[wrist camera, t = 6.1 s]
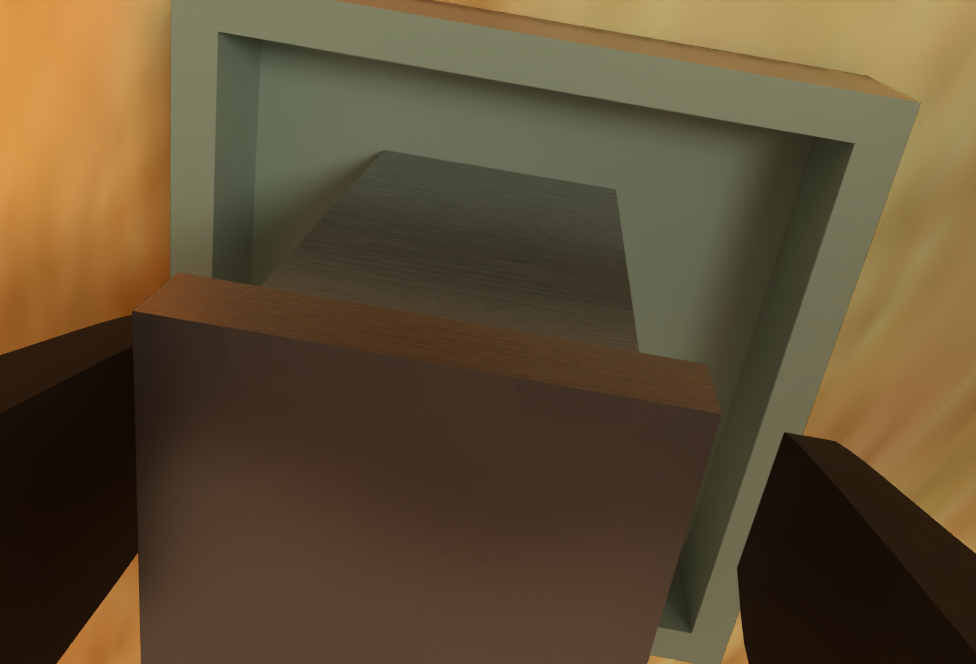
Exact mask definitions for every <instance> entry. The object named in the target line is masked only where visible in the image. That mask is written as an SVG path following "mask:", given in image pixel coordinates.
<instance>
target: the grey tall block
mask: <svg viewBox="0 0 976 664" xmlns="http://www.w3.org/2000/svg"><path fill="white" fill-rule="evenodd" d="M132 321H133V361H134V401H135V441H136V481H137V520H138V560H139V600H140V640H141V664H647V662H648V659H649V656H650V652H651V649H652V646H653V642H654V639H655V636H656V632H657V629H658V626H659V622H660V619H661V616H662V612H663V609H664V606H665V602H666V599H667V595H668V592H669V589H670V585H671V582H672V579H673V575H674V572H675V569H676V565H677V562H678V559H679V555H680V552H681V549H682V545H683V542H684V539H685V535H686V532H687V529H688V525H689V522H690V518H691V515H692V512H693V508H694V505H695V502H696V498H697V495H698V492H699V488H700V485H701V482H702V478H703V475H704V472H705V468H706V465H707V462H708V458H709V455H710V452H711V448H712V445H713V441H714V438H715V435H716V431H717V428H718V425H719V421H720V418H721V415H722V413H721V410H720V406H719V403H718V400H717V396H716V393H715V389H714V386H713V383H712V379H711V376H710V373H709V369H708V366H707V364H703V363H697V362H691V361H686V360H680V359H674V358H668V357H663V356H657V355H651V354H645V353H640V352H639V347H638V340H637V333H636V326H635V319H634V312H633V305H632V298H631V291H630V284H629V277H628V270H627V263H626V256H625V249H624V242H623V235H622V228H621V221H620V214H619V207H618V200H617V193H616V189H611V188H606V187H600V186H594V185H588V184H582V183H576V182H570V181H564V180H558V179H552V178H547V177H541V176H535V175H529V174H523V173H517V172H511V171H505V170H499V169H493V168H487V167H482V166H476V165H470V164H464V163H458V162H452V161H446V160H440V159H434V158H428V157H423V156H417V155H411V154H405V153H399V152H393V151H387V150H383V151H382V152H381V153H380V155H379V156H378V157H377V158H376V159H375V160H374V161H373V162H372V163H371V165H370V166H369V167H368V168H367V169H366V170H365V171H364V172H363V173H362V175H361V176H360V177H359V178H358V179H357V180H356V181H355V182H354V183H353V184H352V186H351V187H350V188H349V189H348V190H347V191H346V192H345V193H344V194H343V196H342V197H341V198H340V199H339V200H338V201H337V202H336V203H335V204H334V206H333V207H332V208H331V209H330V210H329V211H328V212H327V213H326V214H325V216H324V217H323V218H322V219H321V220H320V221H319V222H318V223H317V224H316V225H315V227H314V228H313V229H312V230H311V231H310V232H309V233H308V234H307V235H306V237H305V238H304V239H303V240H302V241H301V242H300V243H299V244H298V245H297V247H296V248H295V249H294V250H293V251H292V252H291V253H290V254H289V255H288V256H287V258H286V259H285V260H284V261H283V262H282V263H281V264H280V265H279V266H278V268H277V269H276V270H275V271H274V272H273V273H272V274H271V275H270V276H269V278H268V279H267V280H266V281H265V282H264V283H263V284H262V285H261V286H254V285H248V284H243V283H237V282H231V281H225V280H220V279H214V278H208V277H202V276H197V275H191V274H185V273H179V272H177V273H176V274H175V275H174V276H173V277H172V278H170V279H169V280H168V281H167V282H166V283H164V284H163V285H162V286H161V287H160V288H159V289H157V290H156V291H155V292H154V293H153V294H151V295H150V296H149V297H148V298H147V299H145V300H144V301H143V302H142V303H141V304H140V305H138V306H137V307H136V308H135V309H134V310H132Z"/></svg>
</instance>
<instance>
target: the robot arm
mask: <svg viewBox="0 0 976 664" xmlns="http://www.w3.org/2000/svg"><path fill="white" fill-rule="evenodd" d="M137 553H138V520H137V481H136V441H135V401H134V361H133V321H132V315H130V316H125V317H121V318H117V319H113V320H110V321H106V322H103V323H99V324H96V325H93V326H89V327H86V328H83V329H80V330H77V331H74V332H71V333H67V334H64V335H61V336H58V337H55V338H52V339H49V340H46V341H43V342H40V343H37V344H34V345H31V346H27V347H24V348H21V349H18V350H15V351H12V352H9V353H6V354H3V355H0V664H56V663H57V662H58V661H59V659H60V658H61V657H62V655H63V654H64V653H65V651H66V650H67V649H68V647H69V646H70V645H71V643H72V642H73V640H74V639H75V638H76V636H77V635H78V634H79V632H80V631H81V630H82V628H83V627H84V626H85V624H86V623H87V621H88V620H89V619H90V617H91V616H92V615H93V613H94V612H95V611H96V609H97V608H98V607H99V605H100V604H101V603H102V601H103V600H104V598H105V597H106V596H107V594H108V593H109V592H110V590H111V589H112V588H113V586H114V585H115V584H116V582H117V581H118V579H119V578H120V577H121V575H122V574H123V573H124V571H125V570H126V568H127V567H128V566H129V564H130V563H131V562H132V560H133V559H134V557H135V556H136V555H137ZM737 576H738V588H739V600H740V611H741V620H742V629H743V637H744V645H745V649H746V653H747V658H748V662H749V664H976V554H975V553H974V552H973V551H972V550H970V549H969V548H968V547H967V546H966V545H964V544H963V543H962V542H961V541H959V540H958V539H957V538H956V537H954V536H953V535H952V534H951V533H950V532H948V531H947V530H946V529H945V528H944V527H942V526H941V525H940V524H939V523H938V522H936V521H935V520H934V519H933V518H932V517H930V516H929V515H928V514H927V513H926V512H924V511H923V510H922V509H921V508H920V507H918V506H917V505H916V504H915V503H914V502H912V501H911V500H910V499H909V498H908V497H906V496H905V495H904V494H903V493H902V492H901V491H899V490H898V489H897V488H896V487H895V486H893V485H892V484H891V483H890V482H889V481H887V480H886V479H885V478H884V477H883V476H881V475H880V474H879V473H878V472H876V471H875V470H874V469H873V468H871V467H870V466H869V465H868V464H867V463H865V462H864V461H863V460H861V459H860V458H859V457H858V456H856V455H855V454H854V453H852V452H851V451H849V450H848V449H847V448H845V447H843V446H842V445H840V444H839V443H837V442H836V441H830V440H825V439H820V438H814V437H809V436H803V435H798V434H792V433H787V432H784V434H783V437H782V439H781V442H780V445H779V448H778V451H777V454H776V457H775V460H774V462H773V465H772V468H771V471H770V474H769V477H768V480H767V483H766V486H765V488H764V491H763V494H762V497H761V500H760V503H759V506H758V509H757V511H756V514H755V517H754V520H753V523H752V526H751V529H750V532H749V534H748V537H747V540H746V543H745V546H744V549H743V552H742V555H741V558H740V560H739V563H738V566H737Z"/></svg>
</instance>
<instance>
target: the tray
mask: <svg viewBox="0 0 976 664" xmlns="http://www.w3.org/2000/svg"><path fill="white" fill-rule="evenodd" d="M920 104H921V103H920V102H918V101H916V100H914V99H912V98H910V97H908V96H906V95H904V94H902V93H900V92H898V91H896V90H894V89H892V88H890V87H888V86H886V85H884V84H882V83H880V82H878V81H876V80H874V79H872V78H870V77H868V76H865V75H859V74H853V73H847V72H842V71H836V70H830V69H824V68H819V67H813V66H807V65H801V64H796V63H790V62H784V61H778V60H773V59H767V58H761V57H755V56H750V55H744V54H738V53H732V52H727V51H721V50H715V49H709V48H704V47H698V46H692V45H686V44H681V43H675V42H669V41H663V40H658V39H652V38H646V37H640V36H635V35H629V34H623V33H617V32H612V31H606V30H600V29H594V28H589V27H583V26H577V25H571V24H566V23H560V22H554V21H548V20H543V19H537V18H531V17H525V16H520V15H514V14H508V13H502V12H497V11H491V10H485V9H479V8H474V7H468V6H462V5H456V4H451V3H445V2H439V1H433V0H171V165H170V278H172V277H173V276H174V275H175V274H176V273H177V272H179V273H185V274H191V275H197V276H202V277H208V278H214V279H220V280H225V281H231V282H237V283H243V284H248V285H254V286H261V285H262V284H263V283H264V282H265V281H266V280H267V279H268V278H269V276H270V275H271V274H272V273H273V272H274V271H275V270H276V269H277V268H278V266H279V265H280V264H281V263H282V262H283V261H284V260H285V259H286V258H287V256H288V255H289V254H290V253H291V252H292V251H293V250H294V249H295V248H296V247H297V245H298V244H299V243H300V242H301V241H302V240H303V239H304V238H305V237H306V235H307V234H308V233H309V232H310V231H311V230H312V229H313V228H314V227H315V225H316V224H317V223H318V222H319V221H320V220H321V219H322V218H323V217H324V216H325V214H326V213H327V212H328V211H329V210H330V209H331V208H332V207H333V206H334V204H335V203H336V202H337V201H338V200H339V199H340V198H341V197H342V196H343V194H344V193H345V192H346V191H347V190H348V189H349V188H350V187H351V186H352V184H353V183H354V182H355V181H356V180H357V179H358V178H359V177H360V176H361V175H362V173H363V172H364V171H365V170H366V169H367V168H368V167H369V166H370V165H371V163H372V162H373V161H374V160H375V159H376V158H377V157H378V156H379V155H380V153H381V152H382V151H383V150H387V151H393V152H399V153H405V154H411V155H417V156H423V157H428V158H434V159H440V160H446V161H452V162H458V163H464V164H470V165H476V166H482V167H487V168H493V169H499V170H505V171H511V172H517V173H523V174H529V175H535V176H541V177H547V178H552V179H558V180H564V181H570V182H576V183H582V184H588V185H594V186H600V187H606V188H611V189H616V193H617V200H618V207H619V214H620V221H621V228H622V235H623V242H624V249H625V256H626V263H627V270H628V277H629V284H630V291H631V298H632V305H633V312H634V319H635V326H636V333H637V340H638V347H639V352H640V353H645V354H651V355H657V356H663V357H668V358H674V359H680V360H686V361H691V362H697V363H703V364H707V366H708V369H709V373H710V376H711V379H712V383H713V386H714V389H715V393H716V396H717V400H718V403H719V406H720V410H721V413H722V415H721V418H720V421H719V425H718V428H717V431H716V435H715V438H714V441H713V445H712V448H711V452H710V455H709V458H708V462H707V465H706V468H705V472H704V475H703V478H702V482H701V485H700V488H699V492H698V495H697V498H696V502H695V505H694V508H693V512H692V515H691V518H690V522H689V525H688V529H687V532H686V535H685V539H684V542H683V545H682V549H681V552H680V555H679V559H678V562H677V565H676V569H675V572H674V575H673V579H672V582H671V585H670V589H669V592H668V595H667V599H666V602H665V606H664V609H663V612H662V616H661V619H660V622H659V626H658V629H657V632H656V636H655V639H654V642H653V646H652V649H651V652H650V655H653V656H658V657H664V658H669V659H674V660H679V661H685V662H690V663H695V664H721V661H722V658H723V655H724V652H725V650H726V647H727V644H728V641H729V638H730V636H731V633H732V630H733V627H734V625H735V622H736V619H737V616H738V613H739V611H740V600H739V588H738V576H737V566H738V563H739V560H740V558H741V555H742V552H743V549H744V546H745V543H746V540H747V537H748V534H749V532H750V529H751V526H752V523H753V520H754V517H755V514H756V511H757V509H758V506H759V503H760V500H761V497H762V494H763V491H764V488H765V486H766V483H767V480H768V477H769V474H770V471H771V468H772V465H773V462H774V460H775V457H776V454H777V451H778V448H779V445H780V442H781V439H782V437H783V434H784V432H787V433H792V434H798V435H802V434H803V431H804V429H805V426H806V423H807V420H808V417H809V415H810V412H811V409H812V406H813V403H814V401H815V398H816V395H817V392H818V389H819V387H820V384H821V381H822V378H823V375H824V373H825V370H826V367H827V364H828V361H829V359H830V356H831V353H832V350H833V347H834V345H835V342H836V339H837V336H838V333H839V331H840V328H841V325H842V322H843V320H844V317H845V314H846V311H847V308H848V306H849V303H850V300H851V297H852V294H853V292H854V289H855V286H856V283H857V280H858V278H859V275H860V272H861V269H862V266H863V264H864V261H865V258H866V255H867V252H868V250H869V247H870V244H871V241H872V238H873V236H874V233H875V230H876V227H877V224H878V222H879V219H880V216H881V213H882V210H883V208H884V205H885V202H886V199H887V196H888V194H889V191H890V188H891V185H892V182H893V180H894V177H895V174H896V171H897V168H898V166H899V163H900V160H901V157H902V154H903V152H904V149H905V146H906V143H907V140H908V138H909V135H910V132H911V129H912V126H913V124H914V121H915V118H916V115H917V112H918V110H919V107H920Z"/></svg>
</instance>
